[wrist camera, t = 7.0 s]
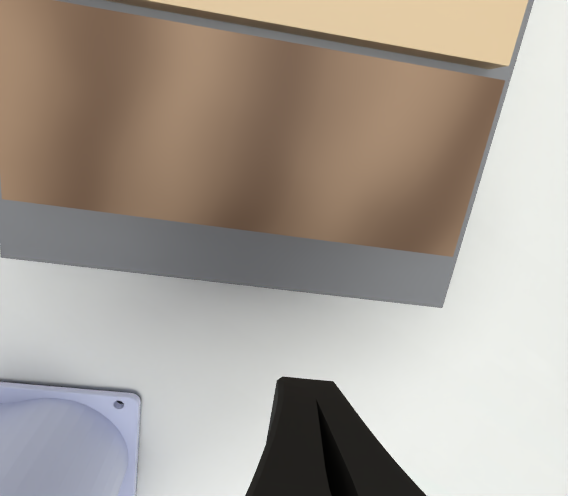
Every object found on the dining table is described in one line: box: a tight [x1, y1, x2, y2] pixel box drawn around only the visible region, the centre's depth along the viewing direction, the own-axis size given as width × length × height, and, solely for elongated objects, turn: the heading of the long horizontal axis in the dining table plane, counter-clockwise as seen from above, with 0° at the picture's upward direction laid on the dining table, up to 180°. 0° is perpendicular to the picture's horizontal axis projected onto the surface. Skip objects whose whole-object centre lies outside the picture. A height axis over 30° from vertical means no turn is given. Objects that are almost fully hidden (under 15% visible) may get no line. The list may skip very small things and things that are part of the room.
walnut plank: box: [0, 0, 505, 257], centre depth 16 cm, size 18×7×1 cm, turn 81°
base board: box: [0, 0, 534, 308], centre depth 16 cm, size 20×18×2 cm
